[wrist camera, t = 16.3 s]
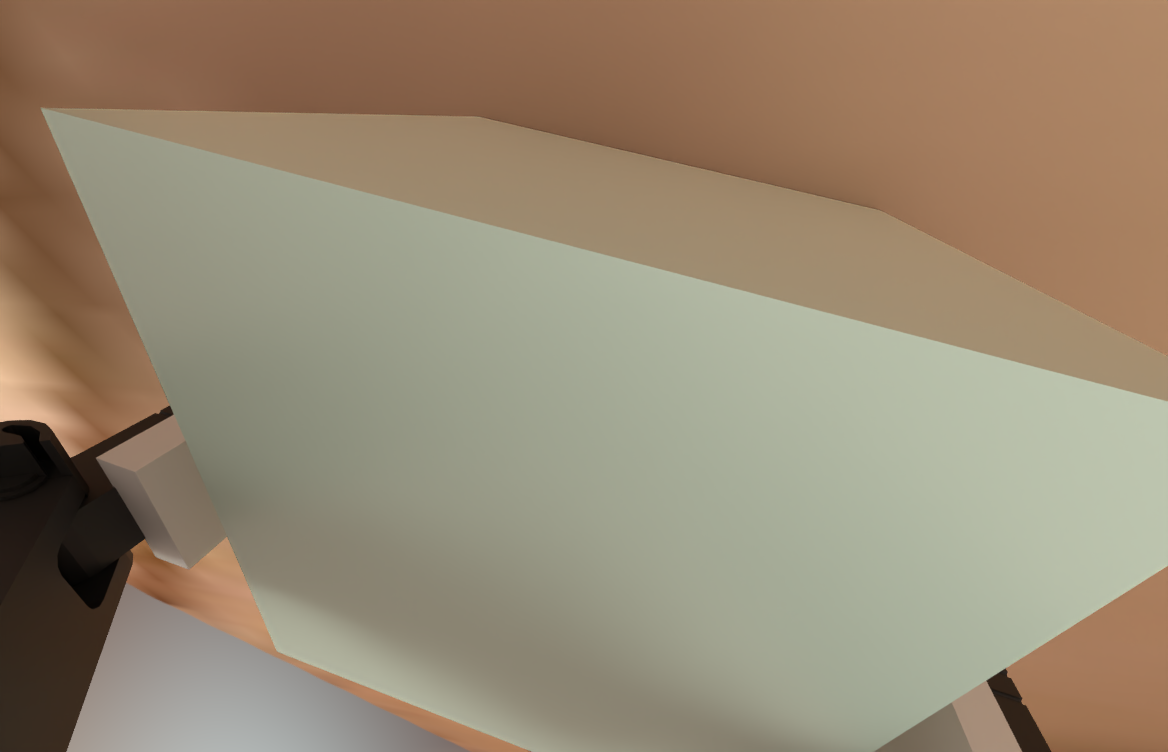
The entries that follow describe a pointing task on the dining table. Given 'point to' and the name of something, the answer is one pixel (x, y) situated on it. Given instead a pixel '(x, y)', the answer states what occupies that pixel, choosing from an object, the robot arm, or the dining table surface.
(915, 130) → the dining table surface
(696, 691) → the pale green brick
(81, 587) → the robot arm
